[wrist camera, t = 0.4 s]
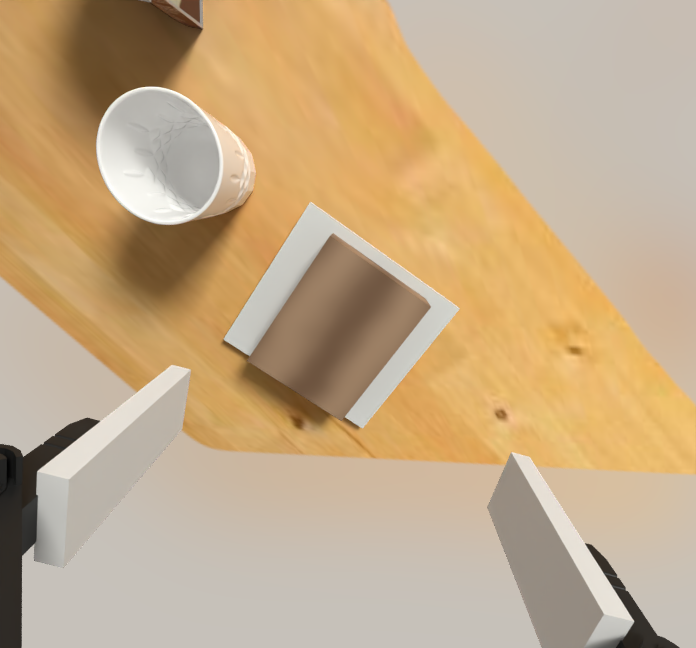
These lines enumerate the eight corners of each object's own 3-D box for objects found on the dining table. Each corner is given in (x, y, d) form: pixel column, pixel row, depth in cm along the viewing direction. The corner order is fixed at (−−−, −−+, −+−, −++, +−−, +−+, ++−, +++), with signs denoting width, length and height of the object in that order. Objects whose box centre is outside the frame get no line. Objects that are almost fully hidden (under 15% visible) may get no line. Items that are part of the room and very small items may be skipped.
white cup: (253, 229, 35) (211, 239, 26) (166, 205, 35) (90, 206, 26) (271, 135, 33) (233, 107, 24) (178, 108, 33) (100, 69, 23)
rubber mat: (226, 336, 38) (223, 339, 38) (311, 202, 34) (310, 202, 34) (362, 424, 40) (362, 428, 40) (457, 306, 36) (459, 308, 36)
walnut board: (255, 348, 38) (246, 360, 35) (333, 232, 34) (330, 235, 31) (343, 405, 39) (341, 421, 36) (425, 298, 36) (431, 307, 33)
